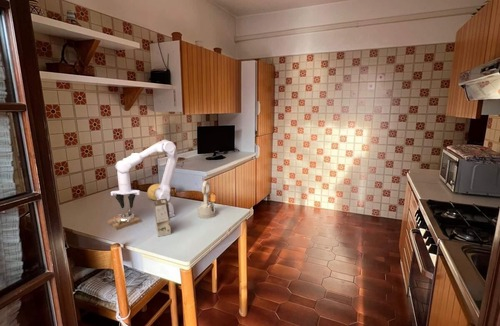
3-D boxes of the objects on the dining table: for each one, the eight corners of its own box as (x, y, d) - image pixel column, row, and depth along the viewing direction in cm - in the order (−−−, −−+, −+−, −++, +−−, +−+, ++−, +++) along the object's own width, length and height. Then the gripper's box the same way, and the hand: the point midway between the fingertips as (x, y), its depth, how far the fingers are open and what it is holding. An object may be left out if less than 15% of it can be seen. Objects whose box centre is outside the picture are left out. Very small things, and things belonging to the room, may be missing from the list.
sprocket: (137, 218, 146) (137, 210, 145) (118, 225, 139) (117, 216, 137) (129, 213, 153) (128, 205, 152) (110, 219, 146) (109, 211, 144)
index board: (141, 221, 147) (140, 214, 146) (117, 230, 137) (116, 222, 136) (130, 215, 155) (130, 208, 154) (107, 222, 146) (106, 215, 145)
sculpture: (154, 203, 175) (152, 187, 173) (145, 199, 183) (143, 184, 180) (169, 198, 184) (168, 183, 181) (160, 194, 191) (158, 180, 189)
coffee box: (171, 234, 132) (169, 203, 129) (157, 236, 130) (155, 206, 126) (169, 226, 140) (166, 198, 137) (156, 229, 138) (153, 199, 134)
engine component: (195, 218, 151) (211, 219, 149) (193, 183, 147) (210, 184, 145) (202, 210, 161) (218, 211, 159) (200, 178, 157) (216, 179, 155)
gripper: (141, 180, 144) (143, 204, 147) (113, 181, 143) (116, 205, 146) (136, 184, 137) (139, 209, 140) (107, 185, 136) (110, 210, 139)
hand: (127, 207), depth 143 cm, fingers open, 4 cm apart
